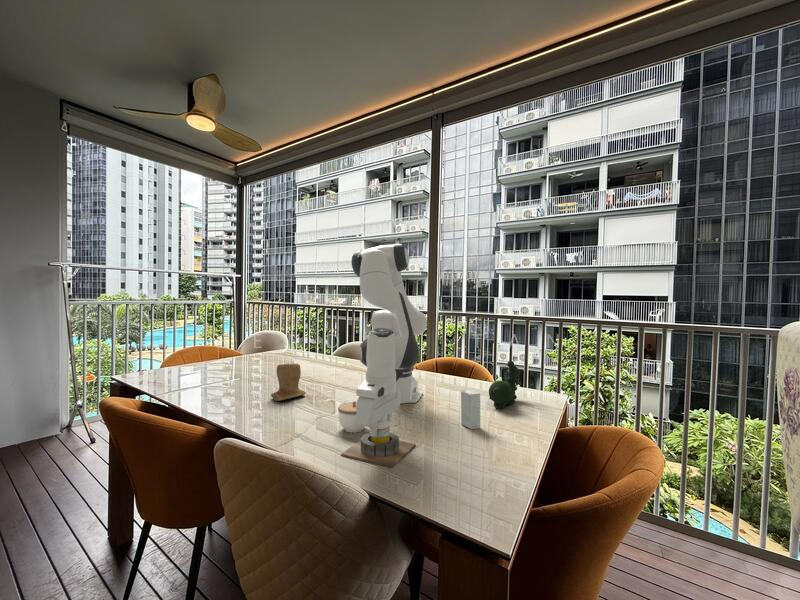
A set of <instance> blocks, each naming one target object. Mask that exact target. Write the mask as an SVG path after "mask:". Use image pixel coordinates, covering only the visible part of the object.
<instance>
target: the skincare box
mask: <svg viewBox="0 0 800 600" xmlns="http://www.w3.org/2000/svg"><path fill="white" fill-rule="evenodd" d="M460 412H461V413H460V414H461V415H460V417H461V421H460V422H461V425H462V426H464V427H466V428H468V429H470V430H477V429H481V393H479V392H477V391H474V390H472V389H466V390H461V391H460Z"/></svg>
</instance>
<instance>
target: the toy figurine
mask: <svg viewBox="0 0 800 600" xmlns="http://www.w3.org/2000/svg"><path fill="white" fill-rule="evenodd" d="M506 363H507V367H508V371H507V378H506V381H504V380H497V381H494V382H493V383H491V385H490V386H489V388H488V396H489V400H491V401H492V402H493V407H494V408H495V409H497V410H503V409H504V408H505V405H506V404H507V406H512V405H515V403H516V400H517V397H518V396H517V394H516V391H518V387H517V383H519V380H518V379H517V377H518V376H519V372H517V371H518V367H517V366H516V365H515V362H514V361H513V360H508V361H507V362H506Z"/></svg>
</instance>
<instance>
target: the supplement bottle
mask: <svg viewBox="0 0 800 600" xmlns="http://www.w3.org/2000/svg"><path fill="white" fill-rule="evenodd" d="M376 427H377V429H378V435H377V436H375V437H373V436H371V442H373V443H386V442H390V434H389V432H390V428H391V427H390V422H388V421H387V415H385V416H384V418H382V419H380V420H379V421H377V425H376Z"/></svg>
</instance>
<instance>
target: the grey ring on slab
mask: <svg viewBox="0 0 800 600" xmlns="http://www.w3.org/2000/svg"><path fill="white" fill-rule="evenodd" d="M389 434H390V442H386V443H373V442H371V435H370V432H367V433H365V434H363V435H362V436H361V437H360V441H357V443H355V444H353V445H352V446H350V447H349V448H347V449H346V450H344V451H343V452H341V453H340V456H342V457H345V458H350V459H354V460H357V461H358V460H359V461H361V462H366V463H370V464H372V465H373V464H375V465H379V466H381V467H386V468H391V469H392V468H393V467H395V466H396V465H397V464H398V463H399V462H400V461H402V459H403V458H404V457H406V455H408V454H409V453H410V452H411V451H412V450H414V449H415V448H416V446H417V444H416V443H412V442H408V441H407V442H406V441H402V440H400V438H399V435H397V434H395V433H393V432H390V431H389Z"/></svg>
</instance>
